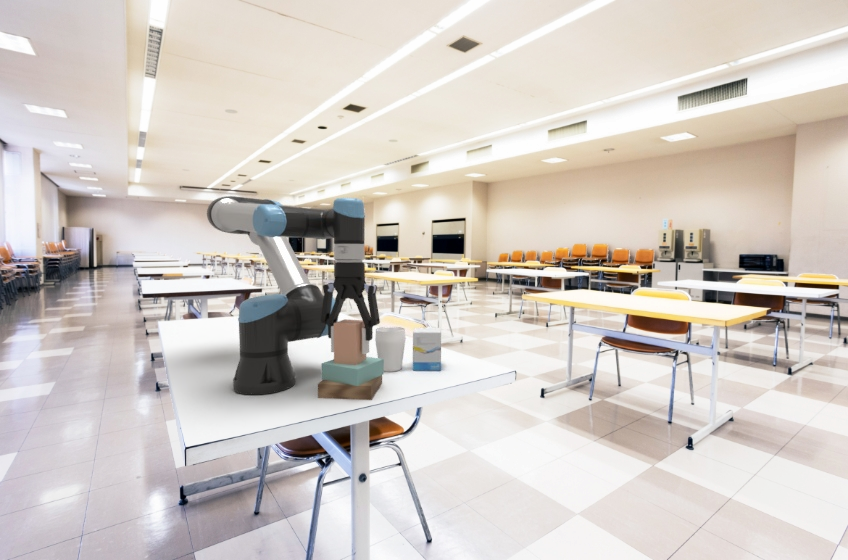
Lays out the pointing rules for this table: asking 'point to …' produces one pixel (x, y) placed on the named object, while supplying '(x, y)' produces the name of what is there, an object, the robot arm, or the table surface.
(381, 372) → the block top
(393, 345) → the cup
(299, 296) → the robot arm
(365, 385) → the block bottom
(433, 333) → the ink box
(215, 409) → the table surface
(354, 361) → the tall block
